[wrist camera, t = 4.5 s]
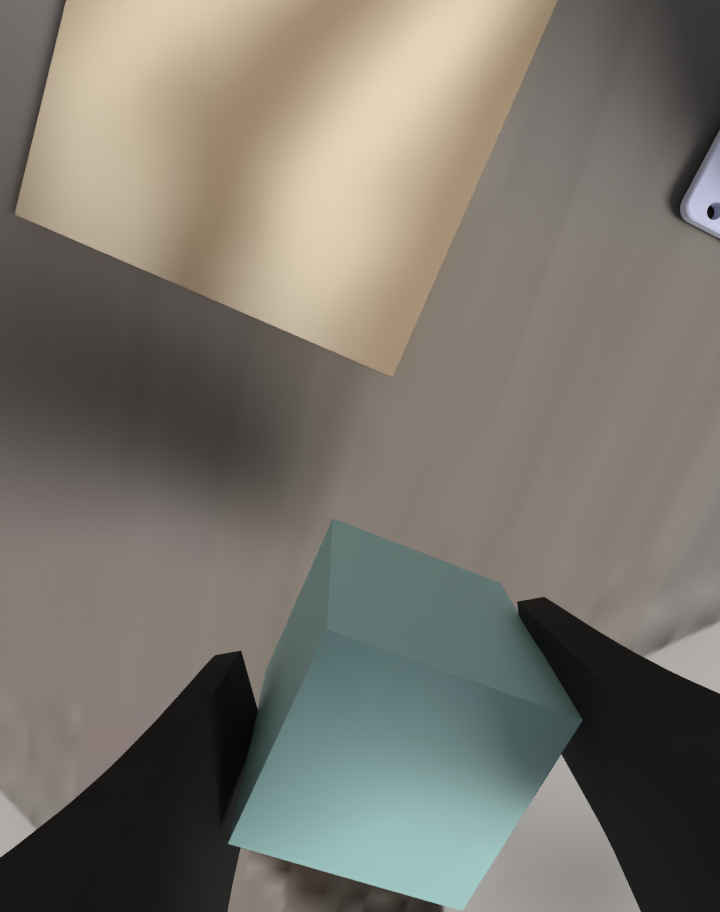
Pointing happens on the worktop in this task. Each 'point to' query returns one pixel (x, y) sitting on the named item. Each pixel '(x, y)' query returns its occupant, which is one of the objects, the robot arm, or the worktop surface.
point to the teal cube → (399, 723)
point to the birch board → (279, 148)
